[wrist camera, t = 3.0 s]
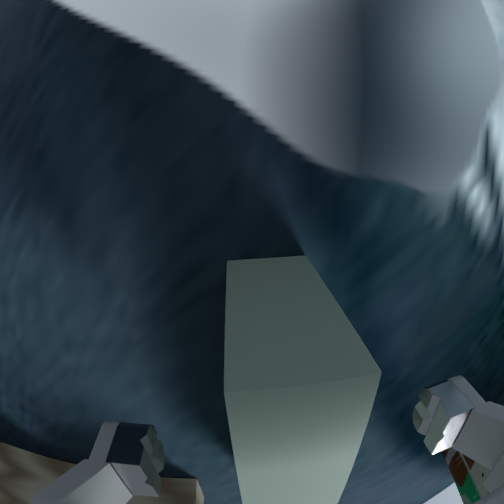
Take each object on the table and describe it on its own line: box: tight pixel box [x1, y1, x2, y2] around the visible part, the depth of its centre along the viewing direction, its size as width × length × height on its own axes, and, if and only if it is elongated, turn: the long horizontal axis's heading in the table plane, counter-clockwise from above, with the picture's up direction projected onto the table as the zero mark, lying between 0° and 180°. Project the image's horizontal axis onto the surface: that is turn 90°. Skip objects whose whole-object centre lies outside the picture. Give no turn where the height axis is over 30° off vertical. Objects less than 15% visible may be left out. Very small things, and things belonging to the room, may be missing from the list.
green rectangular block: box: [224, 256, 381, 504], centre depth 11 cm, size 14×3×7 cm, turn 3°
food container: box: [443, 446, 491, 504], centre depth 14 cm, size 12×6×10 cm, turn 85°
